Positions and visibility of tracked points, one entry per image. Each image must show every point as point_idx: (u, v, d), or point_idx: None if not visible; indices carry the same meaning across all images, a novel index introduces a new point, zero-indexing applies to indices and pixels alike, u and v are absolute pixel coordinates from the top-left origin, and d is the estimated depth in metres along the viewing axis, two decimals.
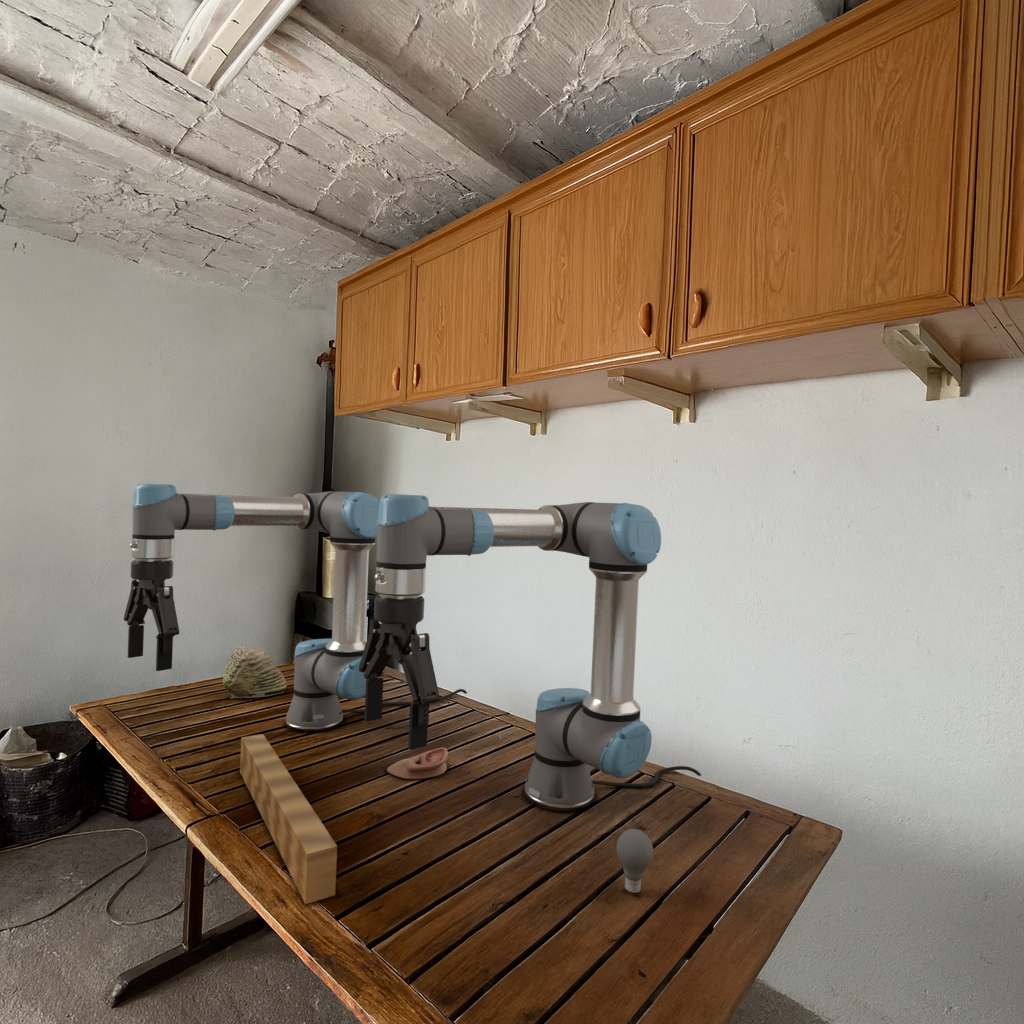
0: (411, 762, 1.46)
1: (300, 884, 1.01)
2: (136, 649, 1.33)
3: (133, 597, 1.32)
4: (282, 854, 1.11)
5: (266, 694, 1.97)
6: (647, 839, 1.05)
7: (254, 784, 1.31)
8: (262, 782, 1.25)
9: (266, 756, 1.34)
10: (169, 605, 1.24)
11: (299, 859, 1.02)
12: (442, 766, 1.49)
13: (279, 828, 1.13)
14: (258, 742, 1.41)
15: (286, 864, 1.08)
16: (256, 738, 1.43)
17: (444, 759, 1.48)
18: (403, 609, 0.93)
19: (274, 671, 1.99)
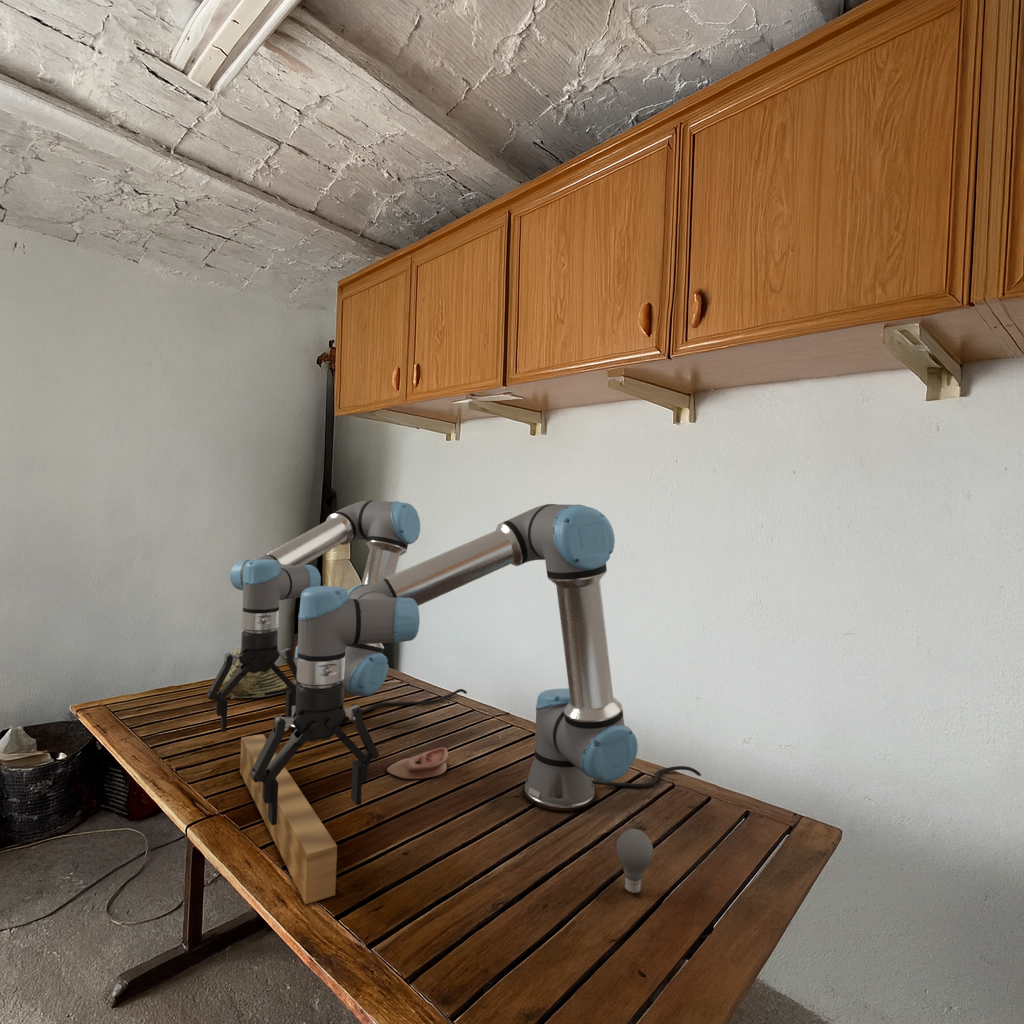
0: (411, 762, 1.46)
1: (300, 884, 1.01)
2: None
3: None
4: (282, 854, 1.11)
5: (266, 694, 1.97)
6: (647, 839, 1.05)
7: (254, 784, 1.31)
8: (262, 782, 1.25)
9: None
10: None
11: (299, 859, 1.02)
12: (442, 766, 1.49)
13: (279, 828, 1.13)
14: (258, 742, 1.41)
15: (286, 864, 1.08)
16: (256, 738, 1.43)
17: (444, 759, 1.48)
18: (343, 691, 1.04)
19: None
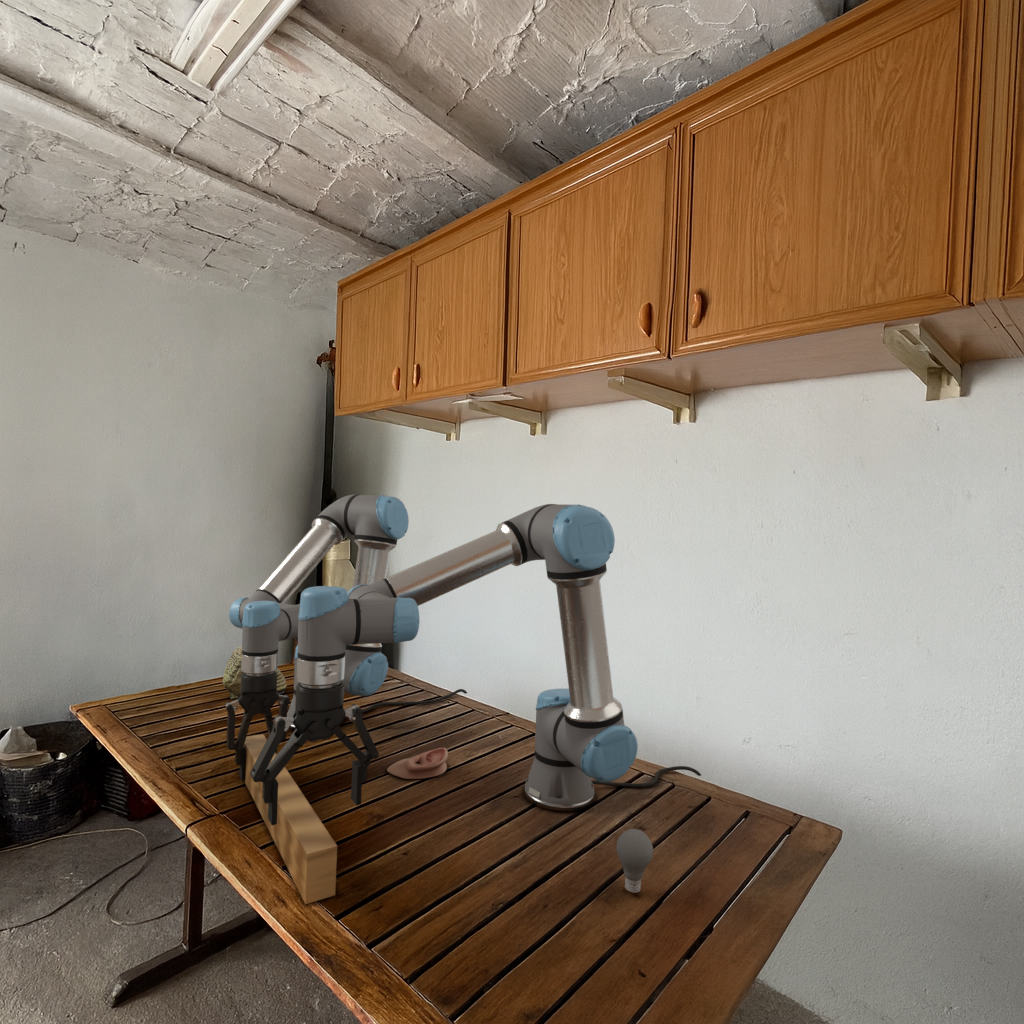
0: (411, 762, 1.46)
1: (300, 884, 1.01)
2: None
3: None
4: (282, 854, 1.11)
5: None
6: (647, 839, 1.05)
7: (254, 784, 1.31)
8: (262, 782, 1.25)
9: None
10: None
11: (299, 859, 1.02)
12: (442, 766, 1.49)
13: (279, 828, 1.13)
14: (258, 742, 1.41)
15: (286, 864, 1.08)
16: (256, 738, 1.43)
17: (444, 759, 1.48)
18: (343, 691, 1.04)
19: None
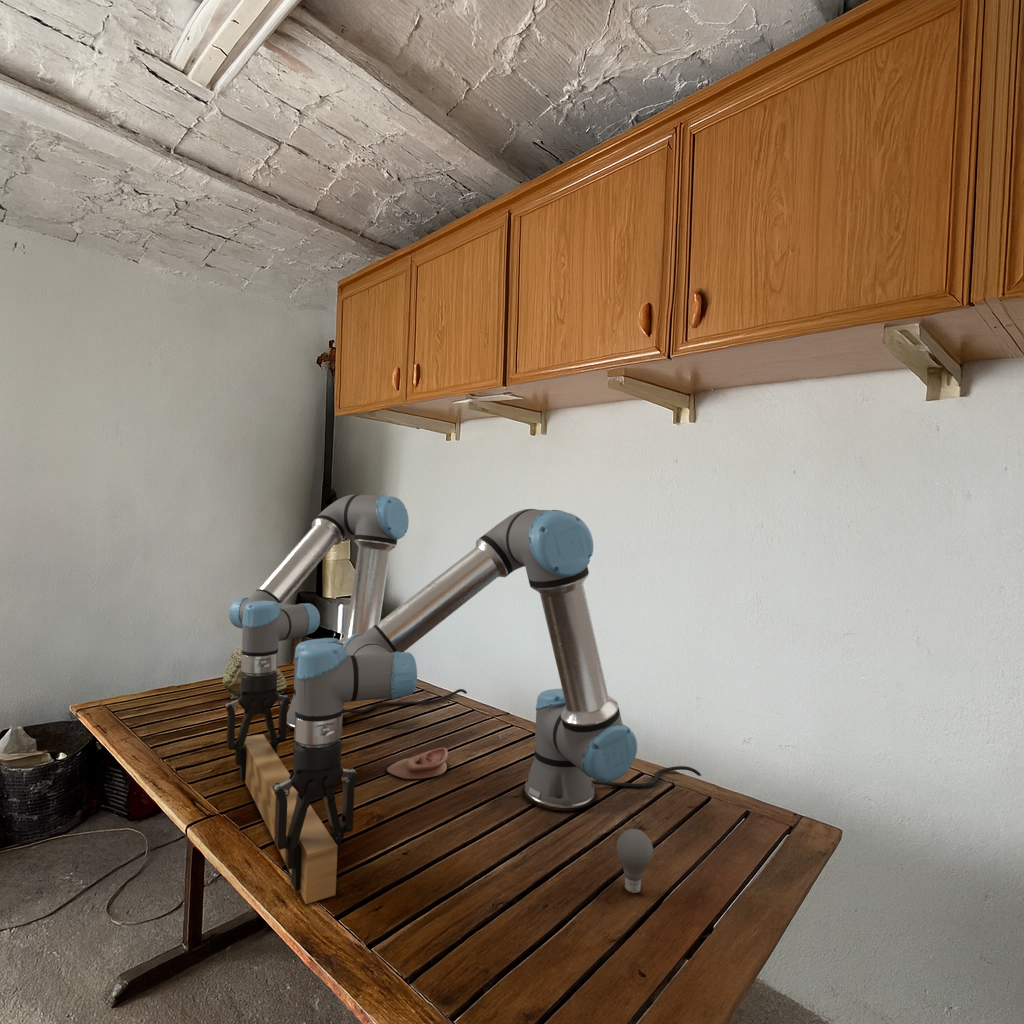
0: (411, 762, 1.46)
1: (300, 884, 1.01)
2: None
3: None
4: (282, 854, 1.11)
5: None
6: (647, 839, 1.05)
7: (254, 784, 1.31)
8: (262, 782, 1.25)
9: (266, 756, 1.34)
10: None
11: None
12: (442, 766, 1.49)
13: None
14: (258, 742, 1.41)
15: (286, 864, 1.09)
16: (256, 738, 1.43)
17: (444, 759, 1.48)
18: (341, 748, 1.04)
19: None
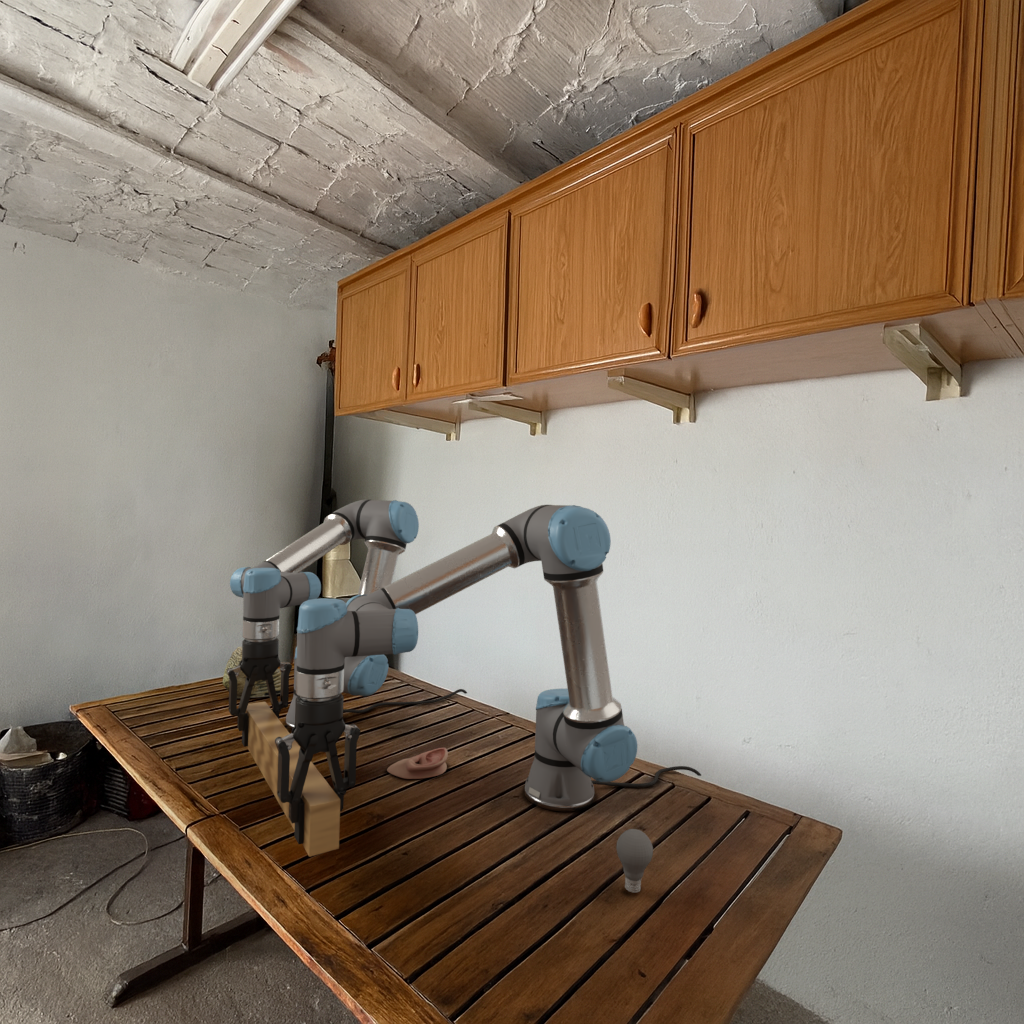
0: (411, 762, 1.46)
1: (304, 838, 1.01)
2: None
3: (236, 685, 1.37)
4: (285, 812, 1.11)
5: (266, 694, 1.97)
6: (647, 839, 1.05)
7: (257, 748, 1.31)
8: (265, 744, 1.25)
9: (269, 721, 1.34)
10: None
11: None
12: (442, 766, 1.49)
13: None
14: (260, 708, 1.41)
15: (289, 821, 1.09)
16: (258, 705, 1.43)
17: (444, 759, 1.48)
18: None
19: None
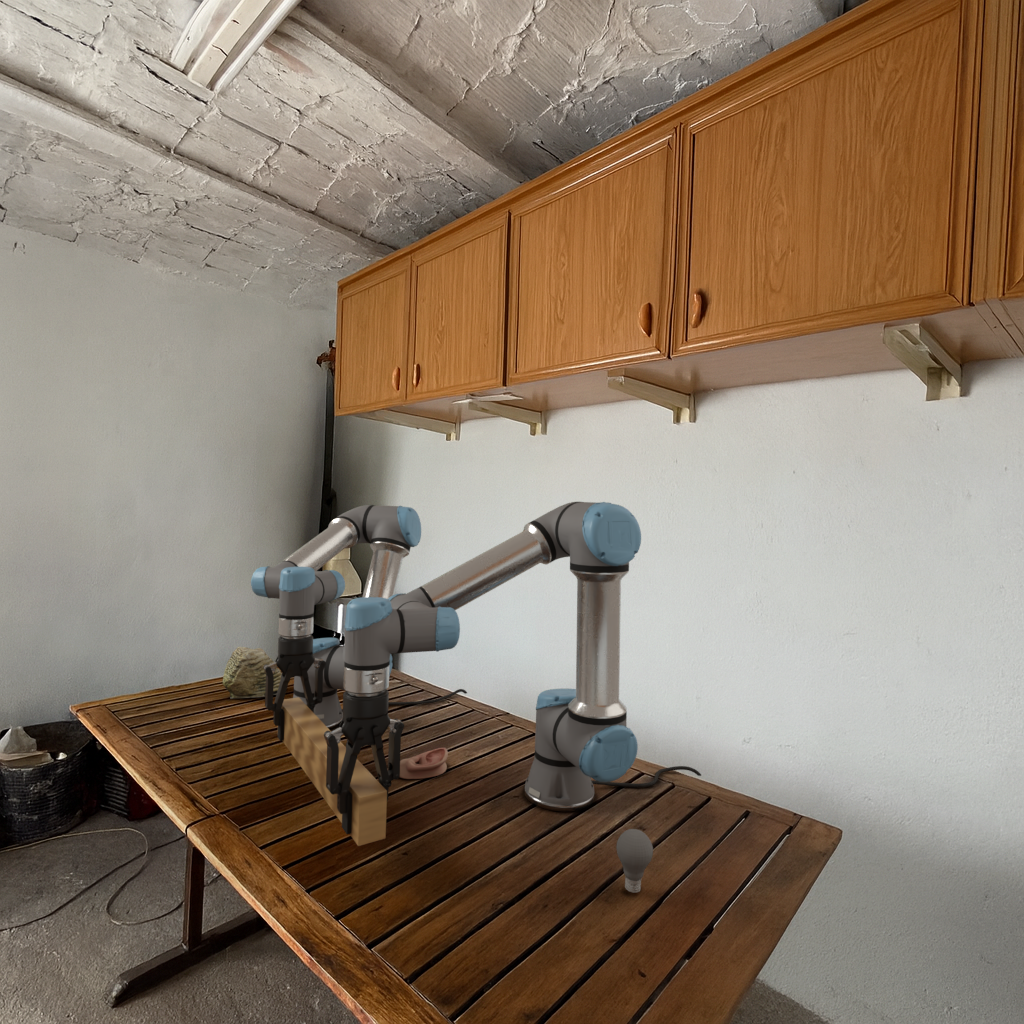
0: (411, 762, 1.46)
1: (352, 828, 1.05)
2: None
3: None
4: (330, 803, 1.15)
5: None
6: (647, 839, 1.05)
7: (295, 742, 1.34)
8: (304, 739, 1.29)
9: (305, 716, 1.37)
10: None
11: None
12: (442, 766, 1.49)
13: None
14: (295, 704, 1.45)
15: (335, 812, 1.12)
16: (292, 701, 1.47)
17: (444, 759, 1.48)
18: (388, 698, 1.08)
19: None
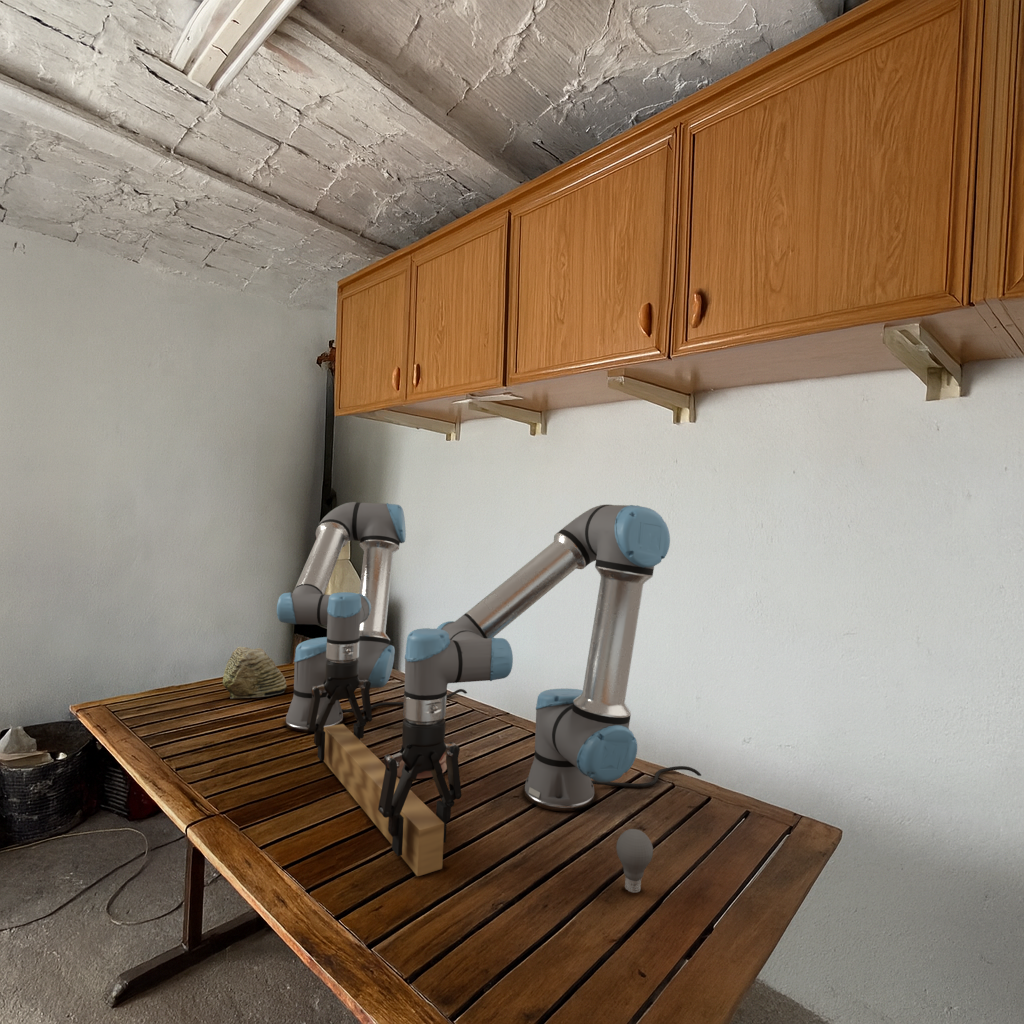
0: None
1: (410, 858, 1.10)
2: None
3: None
4: (384, 832, 1.19)
5: (266, 694, 1.97)
6: (647, 839, 1.05)
7: (343, 770, 1.39)
8: (355, 767, 1.33)
9: (353, 744, 1.42)
10: None
11: (408, 835, 1.11)
12: (442, 766, 1.49)
13: None
14: (341, 731, 1.50)
15: (390, 841, 1.17)
16: (338, 728, 1.51)
17: (444, 759, 1.48)
18: None
19: (274, 671, 1.99)
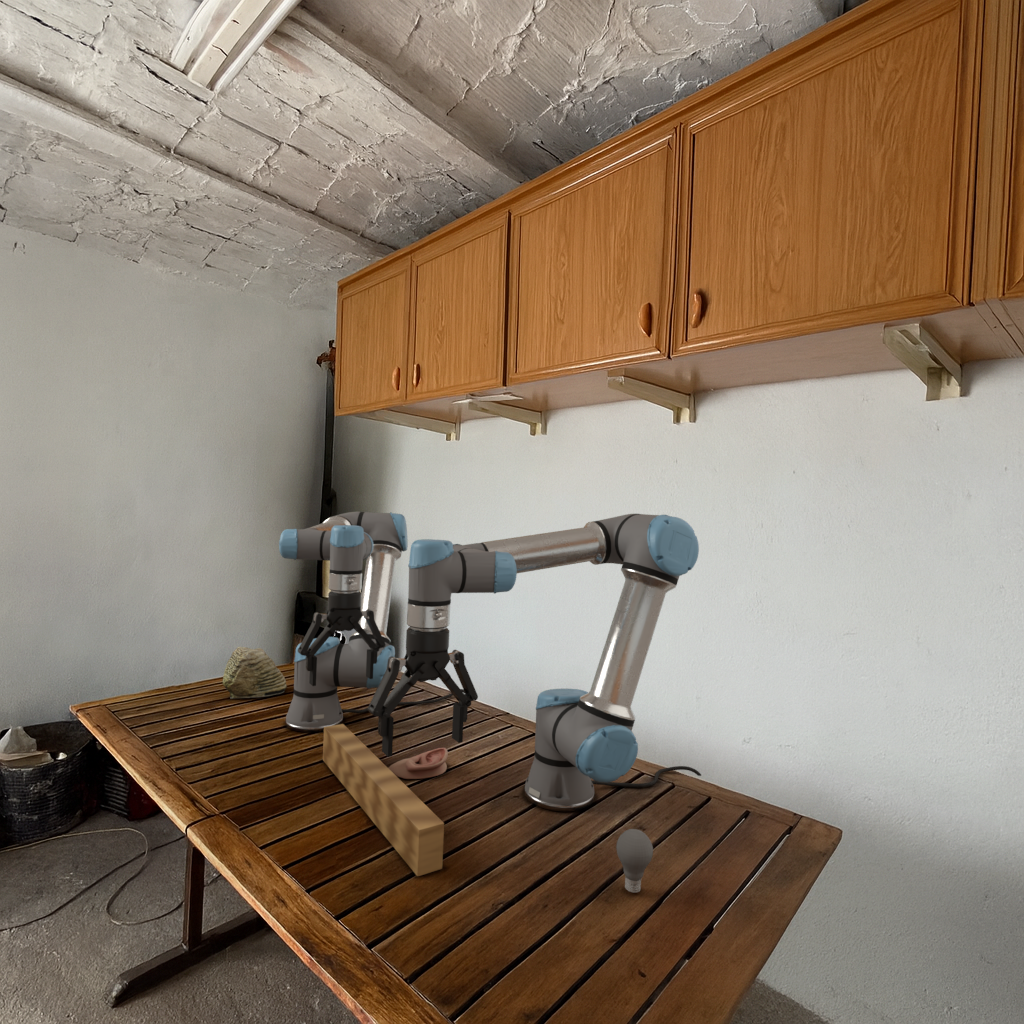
0: (411, 762, 1.46)
1: (410, 858, 1.10)
2: None
3: None
4: (384, 832, 1.19)
5: (266, 694, 1.97)
6: (647, 839, 1.05)
7: (343, 770, 1.39)
8: (355, 767, 1.33)
9: (353, 744, 1.42)
10: None
11: (408, 835, 1.10)
12: (442, 766, 1.49)
13: (380, 809, 1.22)
14: (341, 731, 1.50)
15: (390, 841, 1.17)
16: (338, 728, 1.51)
17: (444, 759, 1.48)
18: None
19: (274, 671, 1.99)
